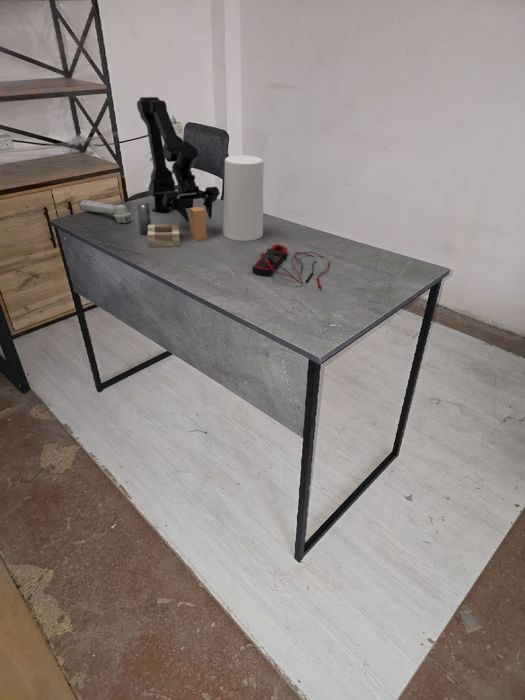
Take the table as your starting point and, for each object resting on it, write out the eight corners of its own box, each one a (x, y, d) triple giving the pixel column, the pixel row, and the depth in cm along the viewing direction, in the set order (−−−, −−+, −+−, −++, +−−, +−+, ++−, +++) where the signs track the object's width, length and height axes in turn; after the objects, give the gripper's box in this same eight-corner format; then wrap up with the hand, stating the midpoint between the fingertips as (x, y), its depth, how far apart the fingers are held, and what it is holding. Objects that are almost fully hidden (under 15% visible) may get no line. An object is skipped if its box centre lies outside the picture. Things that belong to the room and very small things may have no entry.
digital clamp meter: (242, 264, 132) (271, 236, 151) (242, 279, 134) (270, 249, 154) (322, 279, 125) (341, 247, 145) (320, 293, 128) (339, 261, 148)
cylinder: (256, 165, 142) (215, 160, 146) (254, 243, 156) (216, 237, 160) (271, 157, 153) (232, 152, 157) (268, 230, 167) (232, 225, 171)
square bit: (190, 237, 159) (189, 207, 154) (201, 235, 161) (200, 206, 155) (195, 240, 156) (194, 211, 151) (206, 239, 158) (205, 209, 153)
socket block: (149, 236, 158) (148, 224, 156) (178, 235, 160) (178, 224, 158) (148, 247, 150) (147, 235, 148) (179, 246, 152) (179, 234, 150)
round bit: (143, 231, 162) (140, 202, 157) (154, 232, 161) (151, 203, 156) (138, 234, 159) (134, 205, 154) (148, 236, 158) (145, 207, 153)
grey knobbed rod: (87, 198, 179) (130, 201, 166) (91, 215, 183) (134, 220, 170) (76, 201, 176) (119, 204, 163) (80, 218, 179) (123, 223, 166)
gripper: (203, 188, 167) (217, 227, 165) (153, 193, 159) (167, 235, 157) (212, 170, 157) (227, 211, 155) (159, 174, 149) (175, 218, 147)
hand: (199, 219), depth 154 cm, fingers open, 8 cm apart
